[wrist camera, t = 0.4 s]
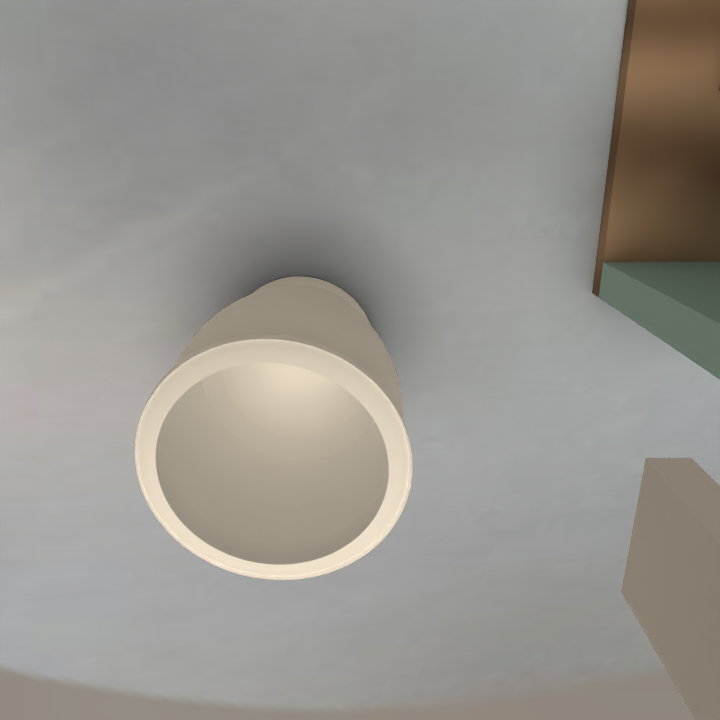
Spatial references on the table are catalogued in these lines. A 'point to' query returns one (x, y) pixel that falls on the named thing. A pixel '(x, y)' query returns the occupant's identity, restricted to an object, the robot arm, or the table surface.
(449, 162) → the table surface
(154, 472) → the jar
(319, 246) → the table surface
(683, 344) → the green l-shaped post
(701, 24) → the socket board
